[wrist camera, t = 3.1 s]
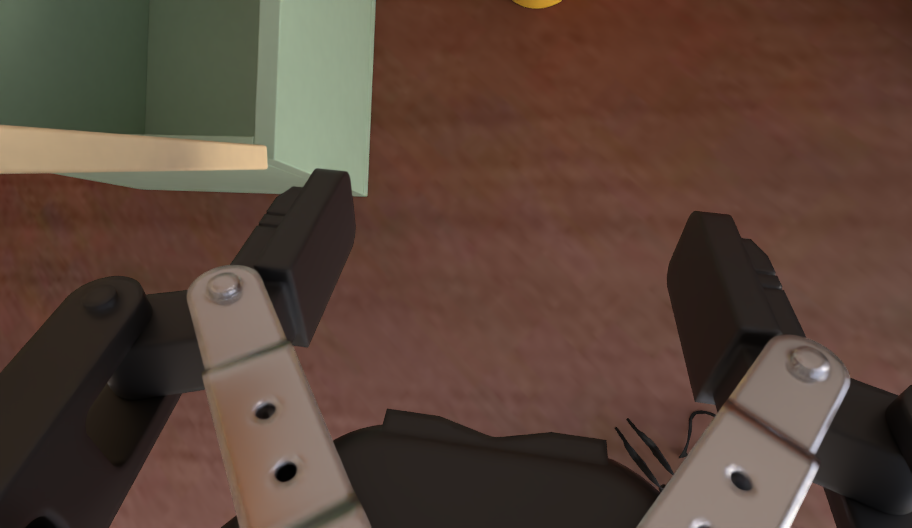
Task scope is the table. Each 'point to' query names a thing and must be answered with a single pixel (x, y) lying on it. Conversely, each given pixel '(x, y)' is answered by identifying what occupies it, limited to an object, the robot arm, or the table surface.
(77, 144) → the lid
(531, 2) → the round shape
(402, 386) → the table surface
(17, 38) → the green open box
